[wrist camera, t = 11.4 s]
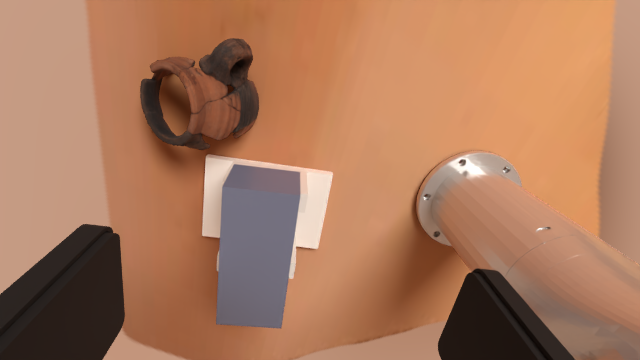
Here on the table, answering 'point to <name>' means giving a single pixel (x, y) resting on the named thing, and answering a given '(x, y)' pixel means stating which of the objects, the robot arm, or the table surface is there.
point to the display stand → (310, 204)
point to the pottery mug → (206, 95)
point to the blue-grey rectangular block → (256, 245)
